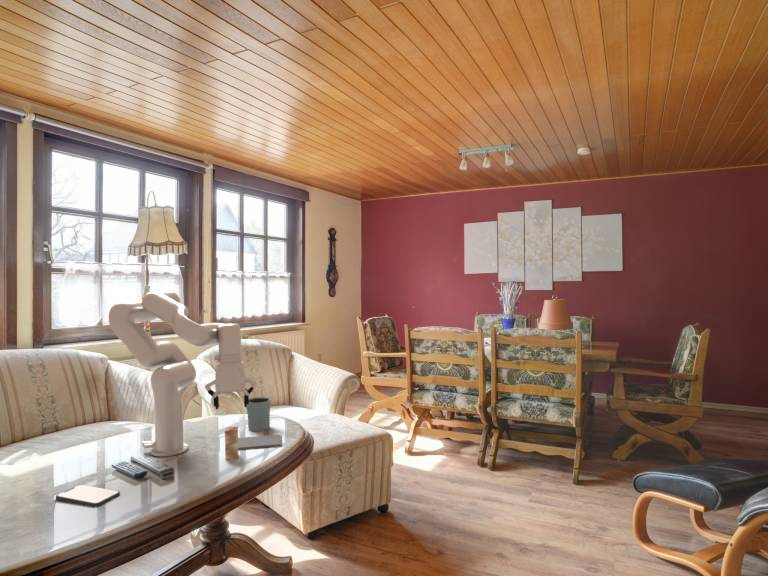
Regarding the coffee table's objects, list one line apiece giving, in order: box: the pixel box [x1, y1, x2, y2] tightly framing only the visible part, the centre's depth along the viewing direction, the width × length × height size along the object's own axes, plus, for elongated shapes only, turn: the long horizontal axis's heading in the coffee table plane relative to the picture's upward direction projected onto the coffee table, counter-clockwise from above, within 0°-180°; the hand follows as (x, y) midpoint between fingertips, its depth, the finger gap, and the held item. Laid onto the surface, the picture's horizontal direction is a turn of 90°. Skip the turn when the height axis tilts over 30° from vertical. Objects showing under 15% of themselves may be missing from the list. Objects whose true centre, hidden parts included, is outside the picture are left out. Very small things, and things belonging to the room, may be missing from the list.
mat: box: [238, 434, 282, 451], centre depth 190 cm, size 20×12×1 cm, turn 102°
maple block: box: [224, 426, 239, 460], centre depth 175 cm, size 4×4×10 cm
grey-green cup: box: [246, 396, 272, 432], centre depth 209 cm, size 10×10×12 cm
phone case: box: [55, 484, 121, 508], centre depth 144 cm, size 9×2×16 cm
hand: (231, 407), depth 175 cm, fingers open, 9 cm apart
